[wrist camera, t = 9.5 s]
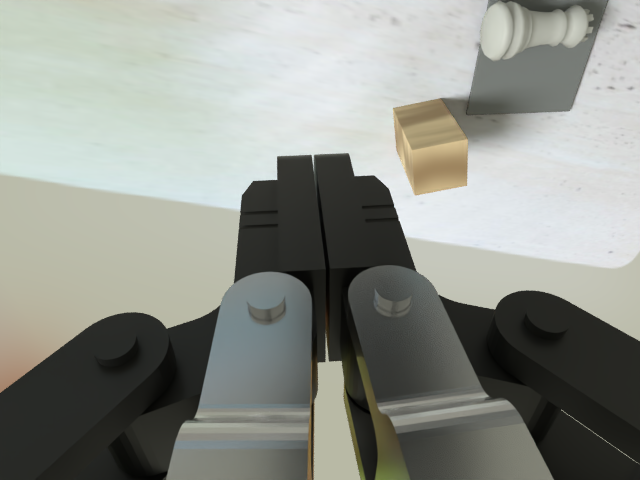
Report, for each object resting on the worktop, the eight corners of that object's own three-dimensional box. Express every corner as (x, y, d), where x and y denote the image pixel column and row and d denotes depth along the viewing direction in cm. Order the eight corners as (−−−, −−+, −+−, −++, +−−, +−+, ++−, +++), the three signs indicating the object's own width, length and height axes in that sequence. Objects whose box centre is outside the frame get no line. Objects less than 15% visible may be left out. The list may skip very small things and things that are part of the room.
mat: (506, -90, 36) (508, -90, 35) (636, -92, 36) (639, -92, 36) (466, 113, 46) (467, 115, 45) (568, 109, 46) (569, 111, 46)
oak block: (392, 108, 45) (411, 150, 39) (440, 98, 45) (467, 139, 38) (396, 150, 48) (414, 195, 42) (441, 141, 47) (467, 185, 41)
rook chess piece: (481, 1, 40) (571, -4, 40) (476, 59, 42) (562, 52, 42) (508, 0, 36) (607, -5, 36) (501, 64, 38) (596, 57, 38)
